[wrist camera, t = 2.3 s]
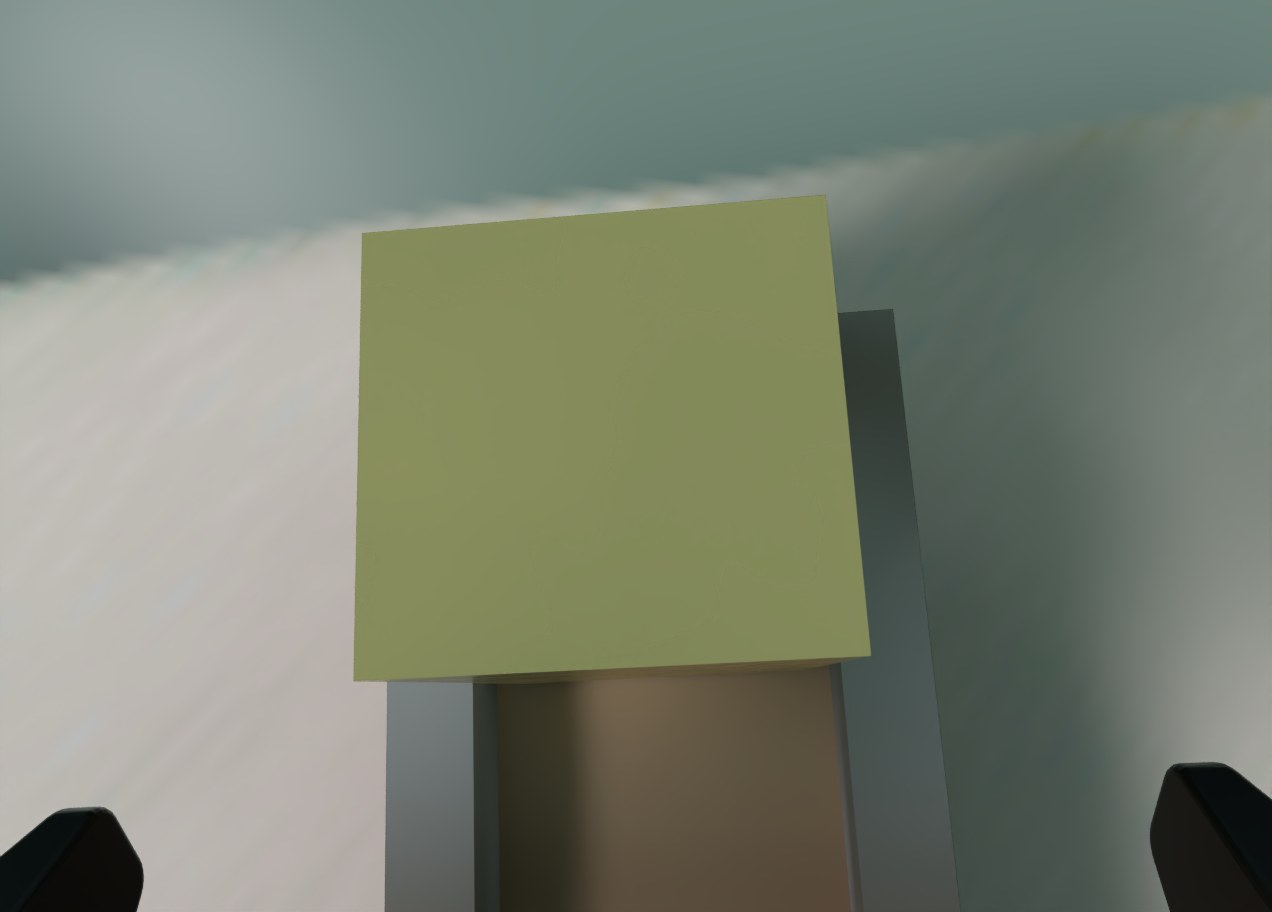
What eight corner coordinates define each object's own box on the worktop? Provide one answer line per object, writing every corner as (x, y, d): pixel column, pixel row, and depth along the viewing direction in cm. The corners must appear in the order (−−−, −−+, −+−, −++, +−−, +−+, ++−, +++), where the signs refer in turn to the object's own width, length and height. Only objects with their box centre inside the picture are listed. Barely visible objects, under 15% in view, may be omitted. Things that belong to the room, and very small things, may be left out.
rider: (802, 670, 15) (871, 655, 8) (521, 683, 15) (353, 681, 8) (780, 409, 16) (825, 194, 9) (517, 427, 16) (361, 233, 9)
